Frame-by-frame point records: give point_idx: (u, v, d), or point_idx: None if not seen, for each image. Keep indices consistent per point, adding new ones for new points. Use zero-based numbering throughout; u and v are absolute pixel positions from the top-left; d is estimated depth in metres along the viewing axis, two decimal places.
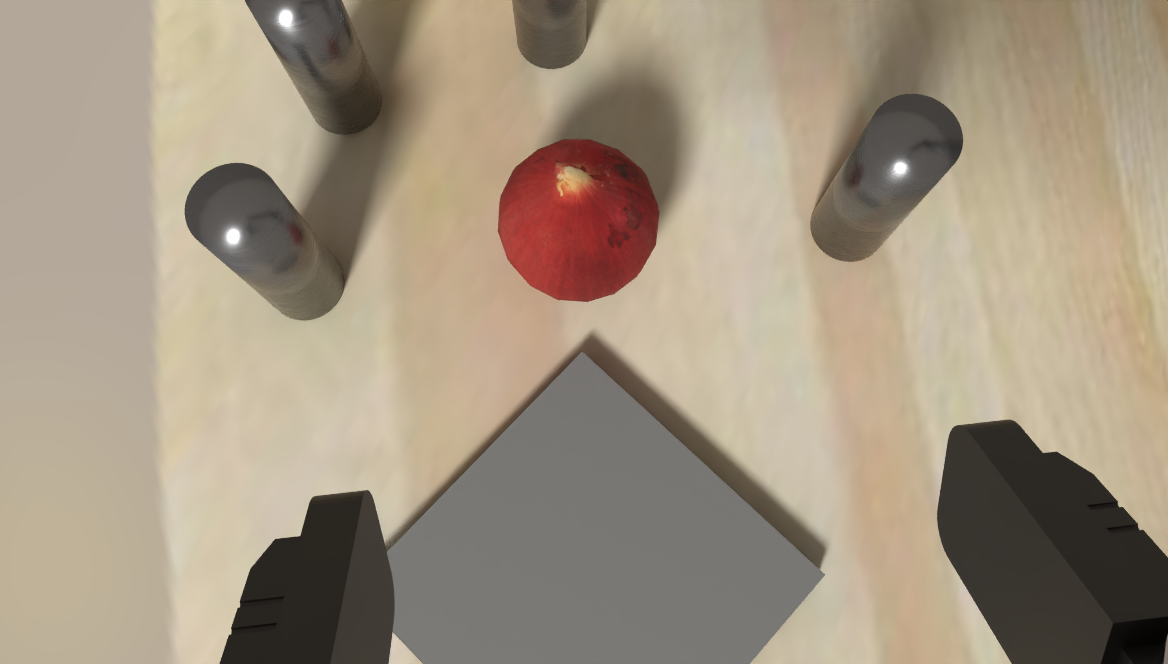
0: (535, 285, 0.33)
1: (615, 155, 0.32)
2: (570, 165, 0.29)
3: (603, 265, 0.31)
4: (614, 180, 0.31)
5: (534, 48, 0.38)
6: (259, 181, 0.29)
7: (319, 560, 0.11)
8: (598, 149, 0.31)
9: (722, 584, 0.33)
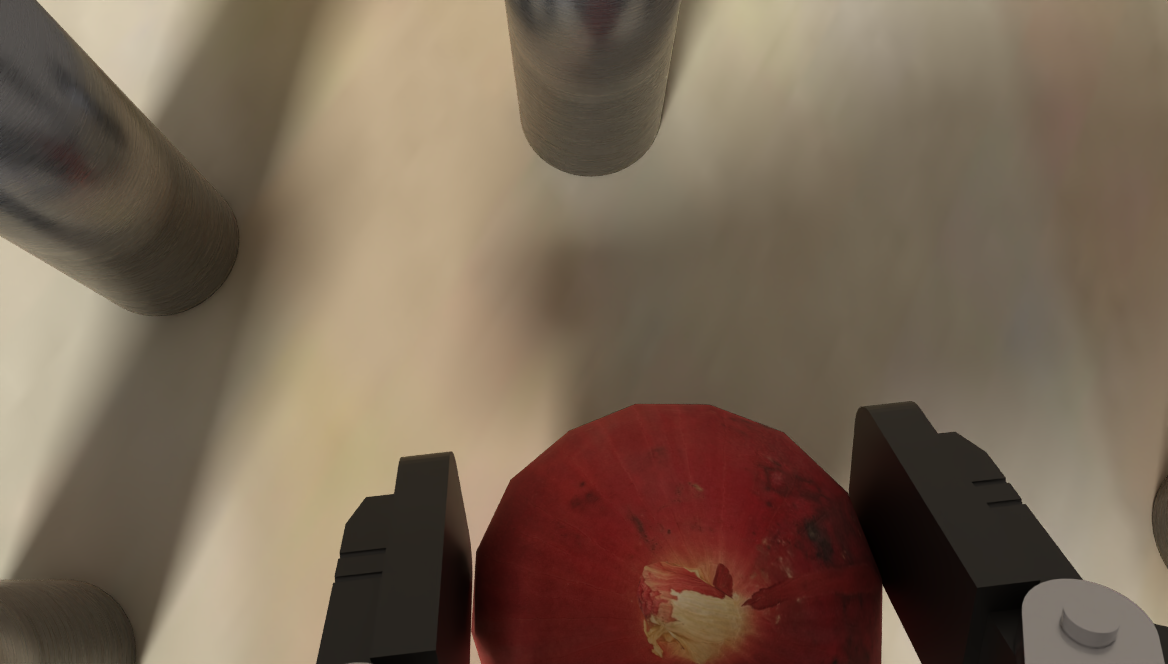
0: None
1: (789, 478, 0.12)
2: (689, 582, 0.09)
3: None
4: (807, 585, 0.10)
5: (557, 139, 0.18)
6: None
7: (416, 513, 0.11)
8: (748, 472, 0.11)
9: None
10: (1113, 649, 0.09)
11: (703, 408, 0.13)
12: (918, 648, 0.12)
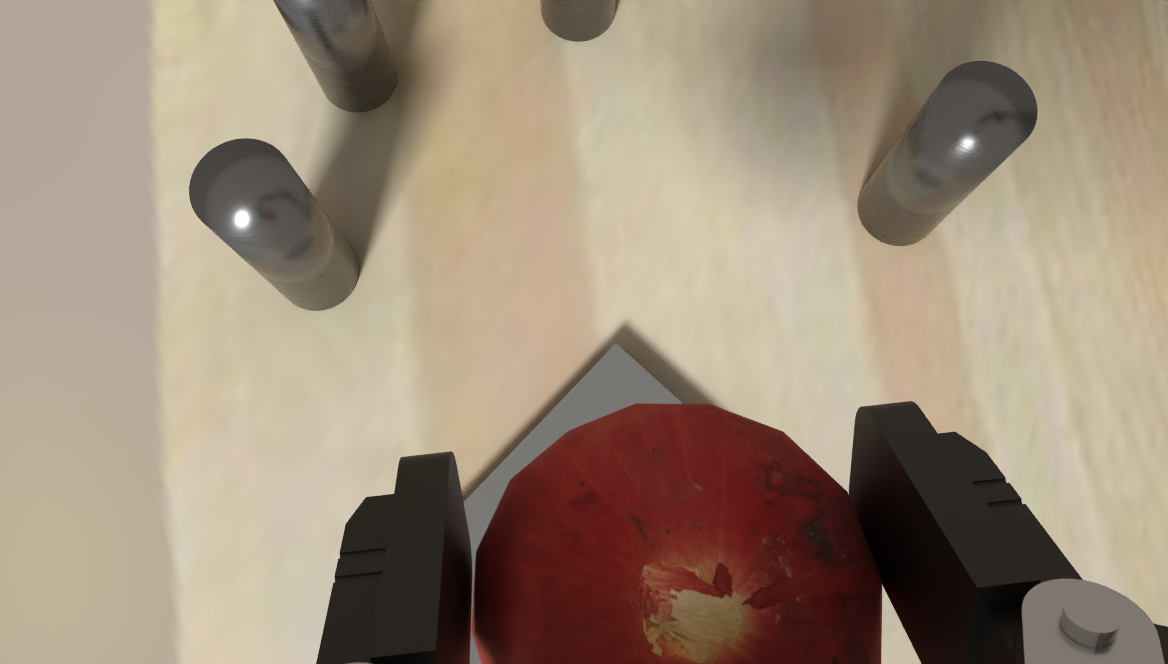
0: None
1: (789, 477, 0.12)
2: (688, 582, 0.09)
3: None
4: (806, 584, 0.10)
5: (561, 18, 0.35)
6: (270, 158, 0.27)
7: (415, 513, 0.11)
8: (748, 471, 0.11)
9: None
10: (1113, 649, 0.09)
11: (703, 407, 0.13)
12: (918, 648, 0.12)
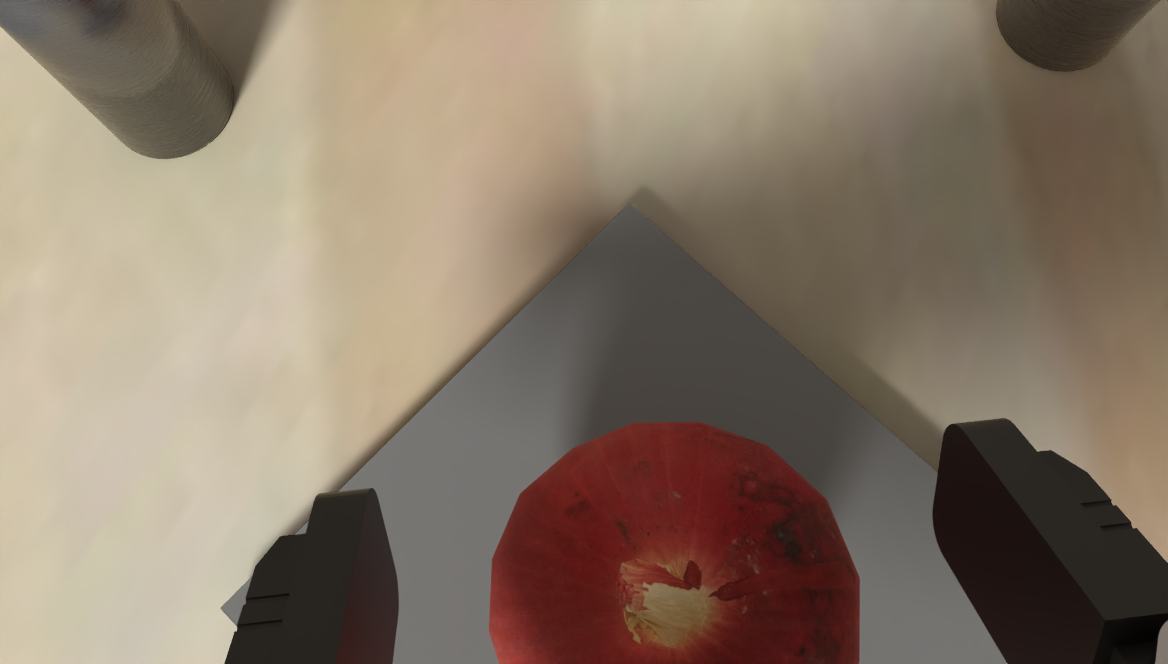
0: None
1: (764, 486, 0.13)
2: (659, 576, 0.11)
3: None
4: (774, 580, 0.12)
5: None
6: None
7: (324, 557, 0.11)
8: (723, 480, 0.13)
9: (884, 602, 0.18)
10: None
11: (690, 425, 0.14)
12: None
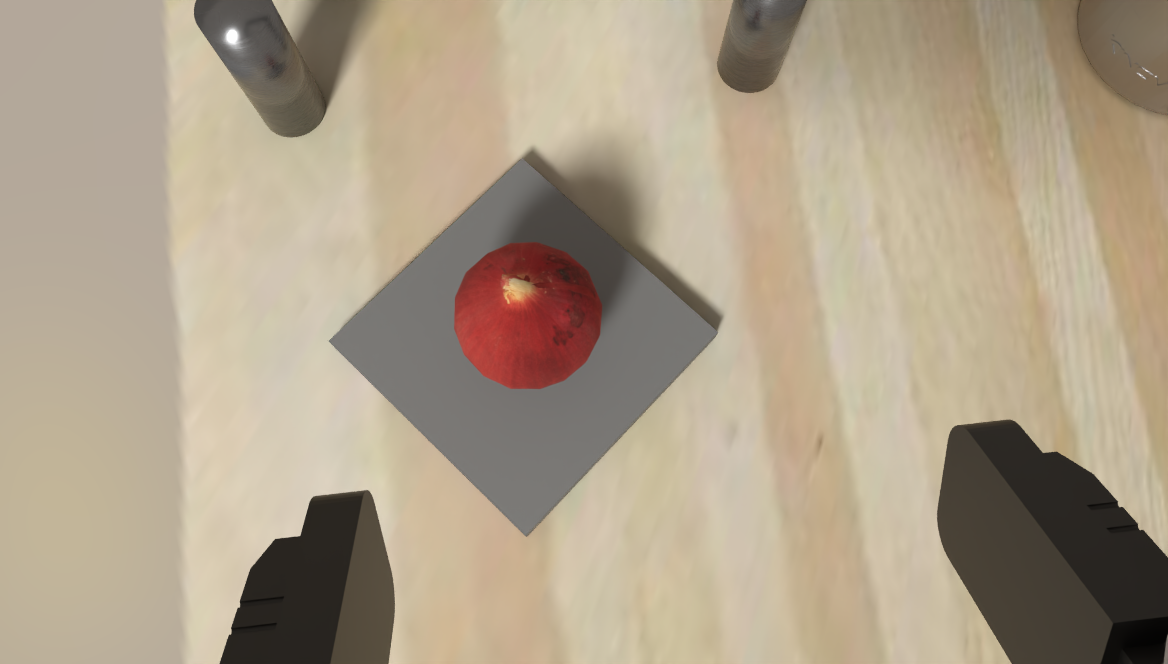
0: (490, 378, 0.36)
1: (558, 259, 0.35)
2: (514, 276, 0.32)
3: (550, 361, 0.34)
4: (557, 285, 0.33)
5: None
6: None
7: (319, 560, 0.11)
8: (541, 255, 0.34)
9: (633, 339, 0.40)
10: None
11: (533, 242, 0.36)
12: None
